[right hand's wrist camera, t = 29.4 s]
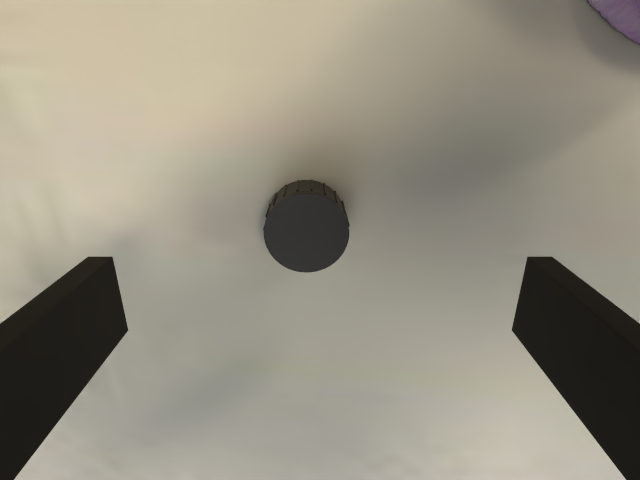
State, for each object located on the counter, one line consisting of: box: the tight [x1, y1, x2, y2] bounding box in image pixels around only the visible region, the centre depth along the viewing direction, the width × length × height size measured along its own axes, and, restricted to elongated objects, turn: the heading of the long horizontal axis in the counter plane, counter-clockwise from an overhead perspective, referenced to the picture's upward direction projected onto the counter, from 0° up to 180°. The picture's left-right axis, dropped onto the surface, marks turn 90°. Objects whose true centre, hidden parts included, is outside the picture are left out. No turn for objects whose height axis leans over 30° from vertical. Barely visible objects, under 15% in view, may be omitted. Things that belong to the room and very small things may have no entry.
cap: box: [263, 180, 349, 272], centre depth 18 cm, size 4×4×2 cm
